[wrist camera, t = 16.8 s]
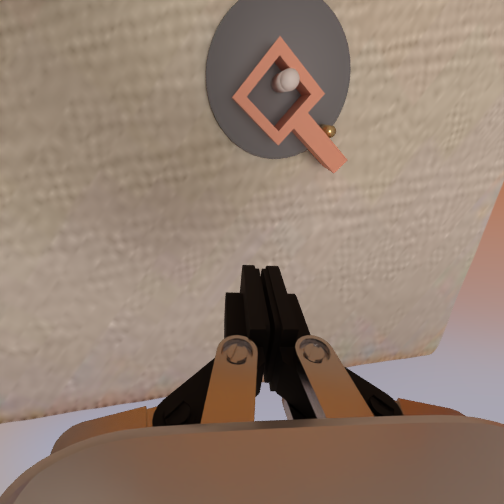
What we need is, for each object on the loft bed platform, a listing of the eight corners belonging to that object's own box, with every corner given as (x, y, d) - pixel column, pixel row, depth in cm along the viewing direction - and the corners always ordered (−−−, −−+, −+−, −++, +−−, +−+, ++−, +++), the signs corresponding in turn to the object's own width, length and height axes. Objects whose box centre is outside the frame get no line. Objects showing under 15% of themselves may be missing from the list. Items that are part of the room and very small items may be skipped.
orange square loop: (231, 97, 29) (232, 97, 26) (273, 44, 27) (280, 35, 24) (309, 179, 35) (318, 187, 31) (349, 139, 33) (363, 143, 29)
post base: (207, -26, 25) (201, -69, 19) (365, 0, 27) (408, -30, 21) (205, 152, 33) (201, 163, 26) (328, 162, 35) (351, 175, 28)
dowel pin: (318, 123, 31) (326, 125, 29) (327, 124, 32) (337, 126, 29) (316, 134, 32) (324, 137, 29) (325, 135, 32) (334, 138, 30)
